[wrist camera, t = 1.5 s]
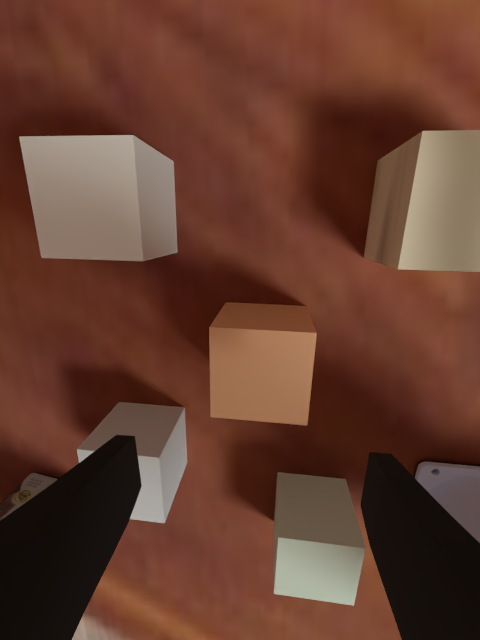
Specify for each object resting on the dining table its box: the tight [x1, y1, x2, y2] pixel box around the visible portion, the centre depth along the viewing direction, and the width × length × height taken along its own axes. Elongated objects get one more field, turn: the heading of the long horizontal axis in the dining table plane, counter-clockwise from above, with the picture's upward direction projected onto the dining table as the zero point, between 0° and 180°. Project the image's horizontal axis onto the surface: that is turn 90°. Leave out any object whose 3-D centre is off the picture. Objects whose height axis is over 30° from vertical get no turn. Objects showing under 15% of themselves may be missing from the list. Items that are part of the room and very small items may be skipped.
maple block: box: [364, 130, 480, 272], centre depth 13 cm, size 5×5×5 cm
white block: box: [19, 135, 178, 261], centre depth 15 cm, size 5×5×5 cm
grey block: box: [77, 402, 187, 523], centre depth 20 cm, size 5×5×5 cm
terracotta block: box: [209, 302, 317, 425], centre depth 17 cm, size 5×5×5 cm
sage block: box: [274, 472, 365, 605], centre depth 20 cm, size 5×5×5 cm
